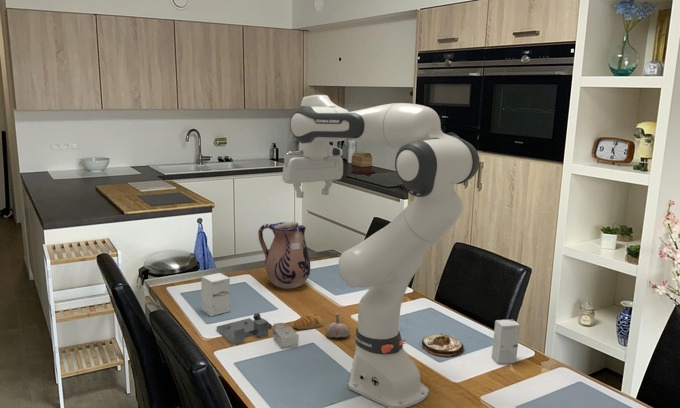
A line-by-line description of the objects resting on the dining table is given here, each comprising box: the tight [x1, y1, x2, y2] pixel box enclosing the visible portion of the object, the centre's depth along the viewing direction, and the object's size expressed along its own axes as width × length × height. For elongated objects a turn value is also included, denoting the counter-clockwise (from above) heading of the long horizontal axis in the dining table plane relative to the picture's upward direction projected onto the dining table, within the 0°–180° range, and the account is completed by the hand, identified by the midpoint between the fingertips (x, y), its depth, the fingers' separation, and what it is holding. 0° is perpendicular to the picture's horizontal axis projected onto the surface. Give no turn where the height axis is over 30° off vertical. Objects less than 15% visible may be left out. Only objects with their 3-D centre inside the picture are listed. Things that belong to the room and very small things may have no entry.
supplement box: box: [200, 272, 231, 317], centre depth 191 cm, size 7×7×13 cm
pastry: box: [293, 312, 323, 331], centre depth 182 cm, size 9×7×4 cm
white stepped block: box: [272, 322, 299, 350], centre depth 171 cm, size 10×6×4 cm, turn 27°
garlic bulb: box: [325, 312, 350, 339], centre depth 175 cm, size 8×7×8 cm
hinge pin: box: [253, 312, 273, 330], centre depth 182 cm, size 9×2×2 cm, turn 39°
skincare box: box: [491, 319, 521, 365], centre depth 162 cm, size 6×4×12 cm
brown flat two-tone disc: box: [421, 332, 465, 358], centre depth 170 cm, size 15×15×4 cm
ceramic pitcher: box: [257, 221, 311, 290], centre depth 217 cm, size 18×21×25 cm
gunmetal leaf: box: [216, 317, 269, 346], centre depth 175 cm, size 12×12×4 cm
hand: (312, 196), depth 164 cm, fingers open, 8 cm apart
